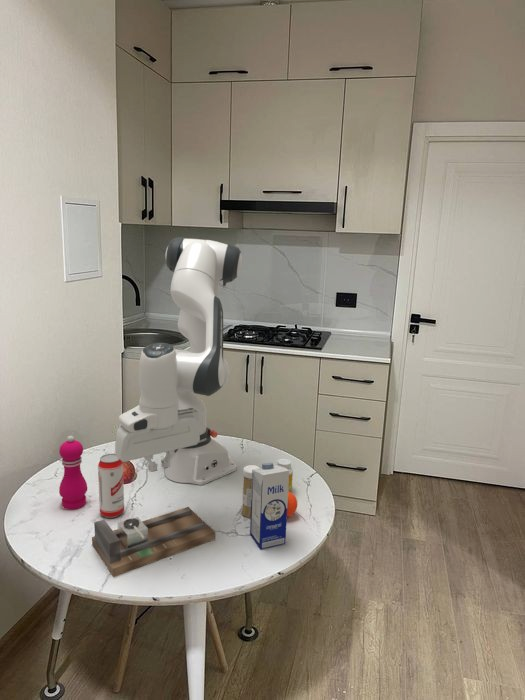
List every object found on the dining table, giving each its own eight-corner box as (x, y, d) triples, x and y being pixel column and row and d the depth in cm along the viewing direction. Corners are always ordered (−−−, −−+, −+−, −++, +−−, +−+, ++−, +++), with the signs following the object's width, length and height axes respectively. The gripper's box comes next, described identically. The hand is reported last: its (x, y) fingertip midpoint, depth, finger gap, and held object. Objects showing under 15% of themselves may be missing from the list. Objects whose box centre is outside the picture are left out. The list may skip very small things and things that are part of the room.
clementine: (299, 524, 139) (300, 500, 137) (272, 525, 138) (274, 500, 136) (294, 508, 146) (296, 485, 145) (270, 508, 146) (271, 485, 144)
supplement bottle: (275, 496, 152) (276, 466, 150) (271, 487, 158) (273, 457, 155) (293, 495, 153) (295, 465, 151) (289, 486, 159) (290, 457, 156)
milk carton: (259, 549, 127) (262, 474, 123) (249, 534, 133) (251, 462, 129) (286, 543, 130) (290, 469, 125) (274, 529, 136) (278, 457, 131)
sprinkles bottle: (242, 509, 145) (243, 464, 142) (258, 509, 145) (260, 464, 142) (241, 518, 141) (242, 471, 138) (258, 518, 141) (260, 472, 138)
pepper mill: (79, 512, 140) (75, 442, 136) (54, 508, 142) (50, 439, 137) (93, 499, 147) (90, 432, 143) (69, 495, 149) (65, 429, 144)
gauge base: (188, 513, 142) (188, 489, 140) (215, 539, 131) (215, 513, 129) (92, 544, 127) (91, 518, 125) (113, 576, 116) (112, 548, 114)
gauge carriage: (138, 531, 129) (137, 515, 128) (153, 550, 122) (153, 533, 121) (118, 537, 126) (117, 521, 125) (133, 557, 119) (132, 540, 118)
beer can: (128, 509, 143) (127, 455, 139) (115, 521, 137) (113, 465, 133) (109, 505, 145) (107, 451, 141) (94, 516, 139) (92, 460, 135)
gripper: (192, 402, 130) (191, 454, 134) (111, 417, 119) (113, 473, 122) (204, 410, 125) (204, 463, 129) (122, 426, 114) (123, 485, 117)
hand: (159, 468), depth 125 cm, fingers closed
